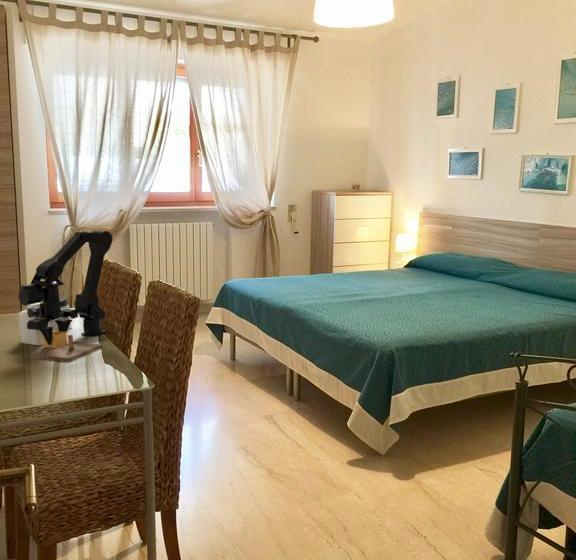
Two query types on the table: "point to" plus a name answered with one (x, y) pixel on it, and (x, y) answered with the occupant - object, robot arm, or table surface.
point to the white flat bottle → (29, 330)
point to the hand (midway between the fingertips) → (55, 342)
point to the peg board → (71, 350)
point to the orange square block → (57, 339)
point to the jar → (63, 306)
